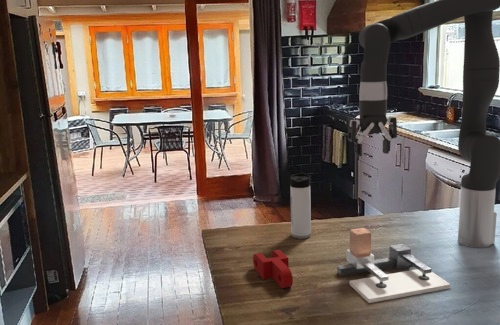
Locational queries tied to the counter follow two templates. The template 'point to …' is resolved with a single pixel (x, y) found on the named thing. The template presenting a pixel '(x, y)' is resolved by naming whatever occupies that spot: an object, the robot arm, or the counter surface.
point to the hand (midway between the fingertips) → (372, 154)
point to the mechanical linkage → (274, 268)
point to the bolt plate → (398, 285)
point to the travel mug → (300, 206)
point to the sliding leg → (363, 253)
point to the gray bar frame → (390, 262)
